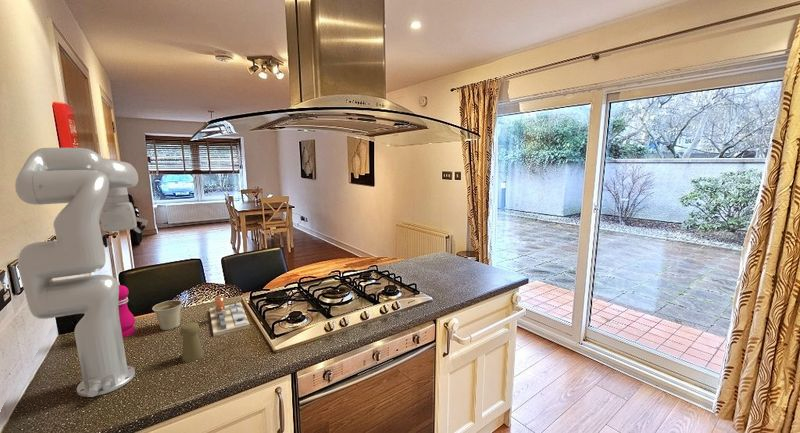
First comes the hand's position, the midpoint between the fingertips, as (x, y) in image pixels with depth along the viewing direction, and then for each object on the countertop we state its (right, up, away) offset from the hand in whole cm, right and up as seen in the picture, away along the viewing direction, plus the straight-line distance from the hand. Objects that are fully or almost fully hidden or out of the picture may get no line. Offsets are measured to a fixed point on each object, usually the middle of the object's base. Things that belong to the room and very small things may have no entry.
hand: (122, 244), depth 130 cm
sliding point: (+37, -28, +5) cm, 47 cm away
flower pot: (+19, -31, 0) cm, 36 cm away
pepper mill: (+6, -32, -6) cm, 33 cm away
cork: (+39, -35, -20) cm, 56 cm away
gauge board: (+38, -30, +5) cm, 49 cm away
